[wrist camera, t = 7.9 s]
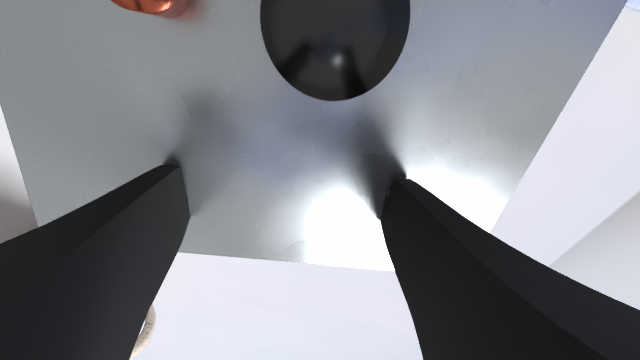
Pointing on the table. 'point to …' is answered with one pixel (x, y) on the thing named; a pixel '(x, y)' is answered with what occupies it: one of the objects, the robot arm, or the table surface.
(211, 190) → the cooker lid
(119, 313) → the robot arm
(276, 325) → the table surface
